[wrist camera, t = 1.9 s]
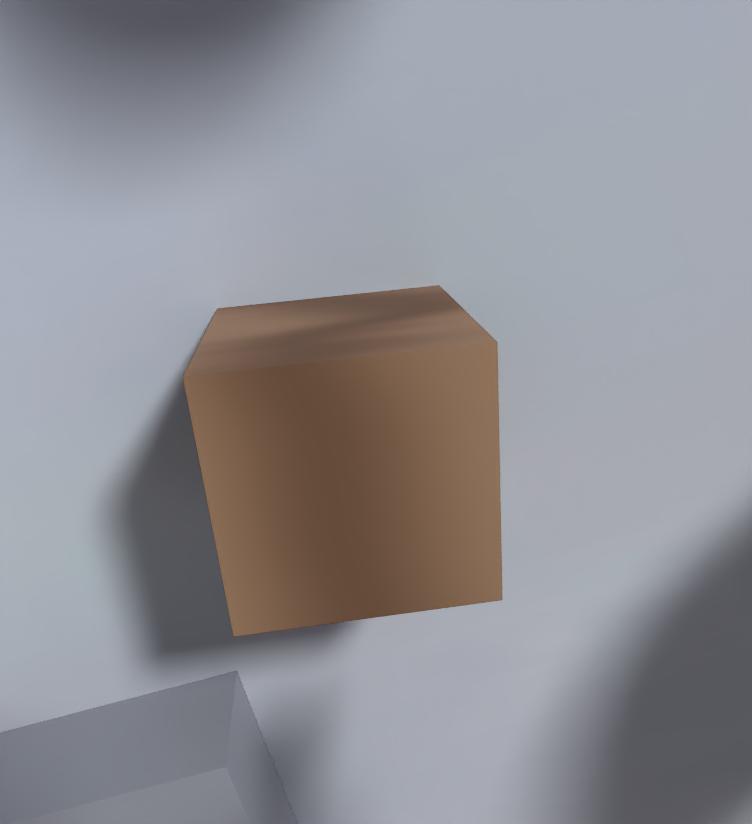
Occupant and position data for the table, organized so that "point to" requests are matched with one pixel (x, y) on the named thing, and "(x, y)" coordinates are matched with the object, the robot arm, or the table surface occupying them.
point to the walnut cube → (349, 457)
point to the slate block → (146, 763)
